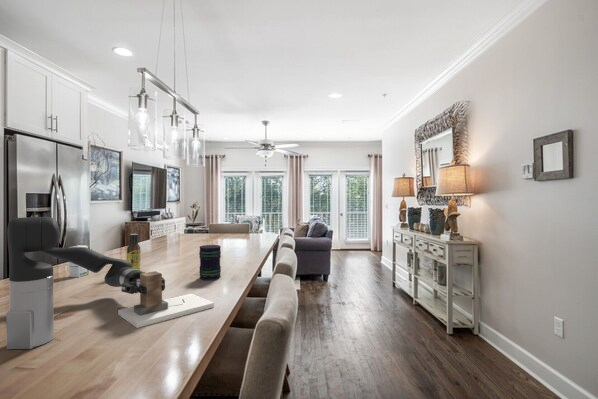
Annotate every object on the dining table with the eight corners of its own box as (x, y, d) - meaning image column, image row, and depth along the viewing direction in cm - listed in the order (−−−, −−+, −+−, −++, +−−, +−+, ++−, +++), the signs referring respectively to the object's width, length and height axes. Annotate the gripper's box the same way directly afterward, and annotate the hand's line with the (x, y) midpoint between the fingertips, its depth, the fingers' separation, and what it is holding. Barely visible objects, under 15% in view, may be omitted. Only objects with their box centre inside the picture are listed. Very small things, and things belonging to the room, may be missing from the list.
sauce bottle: (131, 276, 163) (131, 235, 163) (123, 274, 166) (123, 234, 166) (143, 273, 169) (143, 233, 169) (135, 272, 172) (135, 233, 172)
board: (137, 327, 99) (137, 322, 99) (118, 314, 111) (118, 310, 111) (214, 307, 118) (214, 302, 118) (191, 297, 129) (191, 293, 129)
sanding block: (140, 315, 105) (139, 277, 105) (133, 311, 109) (133, 274, 109) (168, 308, 112) (167, 272, 112) (161, 305, 115) (161, 270, 115)
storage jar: (212, 274, 167) (212, 244, 167) (225, 277, 161) (225, 246, 161) (195, 278, 160) (195, 246, 159) (207, 281, 153) (207, 248, 153)
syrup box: (79, 277, 161) (78, 247, 161) (68, 276, 162) (68, 246, 162) (88, 274, 166) (88, 245, 166) (78, 274, 168) (78, 244, 167)
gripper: (112, 273, 115) (131, 281, 103) (154, 266, 125) (175, 274, 113) (112, 295, 115) (131, 306, 103) (154, 286, 125) (176, 296, 114)
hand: (154, 289), depth 108 cm, fingers closed on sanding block, 5 cm apart
